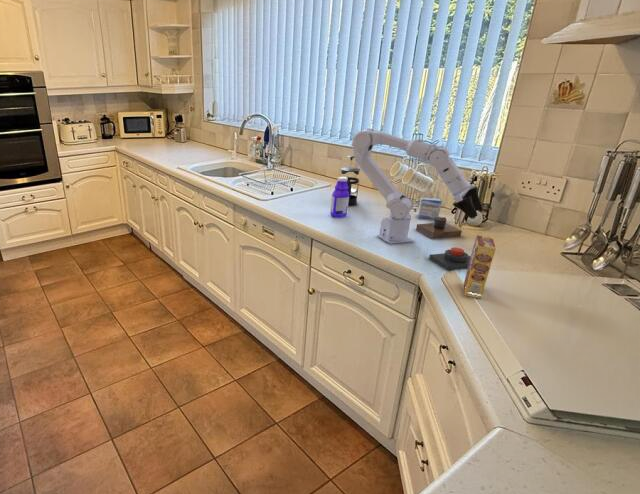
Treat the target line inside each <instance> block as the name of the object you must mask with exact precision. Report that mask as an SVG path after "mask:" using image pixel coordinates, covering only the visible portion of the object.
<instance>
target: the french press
mask: <svg viewBox="0 0 640 494" xmlns="http://www.w3.org/2000/svg"><path fill="white" fill-rule="evenodd" d="M346 158H349V159H350V166H346V167H345V166H344V167H340V173H341V175H346V174H347V173H349V176H346V177H347V178H348V180H347V185H348V187H349V189H348V192H349V202H348V207H354V206H356V205H358V202H357V201H358V193H359V185H360V178H358V177H352V176H351V173H354V174H355V175H356V176H358V175H359V174H360V171H361V168H360V167H355V166H354V167H353V166H352V162H353V159H355V158H354V155H347V156H346ZM356 184H357V188H356V189H354V188H352V185H356ZM354 194H356V195H354Z"/></svg>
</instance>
